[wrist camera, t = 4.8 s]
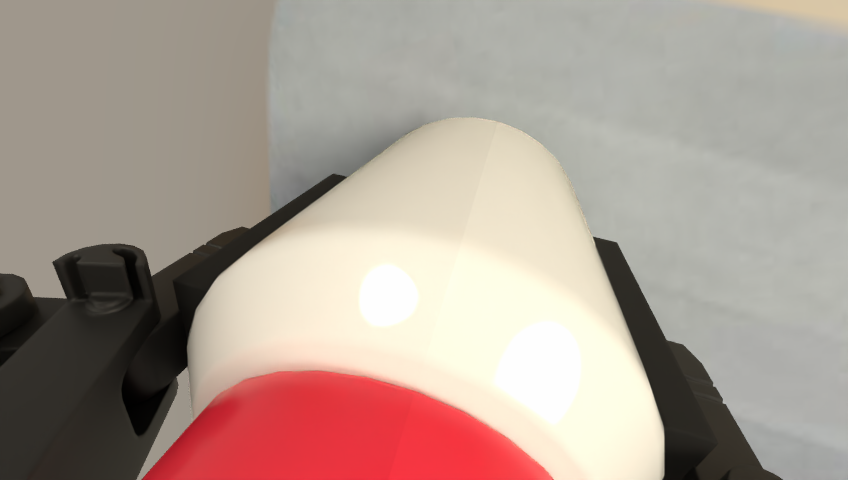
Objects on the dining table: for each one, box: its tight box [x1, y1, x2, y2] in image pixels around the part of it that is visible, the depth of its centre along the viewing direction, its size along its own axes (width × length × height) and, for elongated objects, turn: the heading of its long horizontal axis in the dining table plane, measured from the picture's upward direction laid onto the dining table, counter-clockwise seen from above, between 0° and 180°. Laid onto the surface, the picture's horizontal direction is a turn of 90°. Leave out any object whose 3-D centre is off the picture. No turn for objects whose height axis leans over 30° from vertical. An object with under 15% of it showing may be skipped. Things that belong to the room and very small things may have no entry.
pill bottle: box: [142, 117, 664, 480], centre depth 8 cm, size 8×8×11 cm
